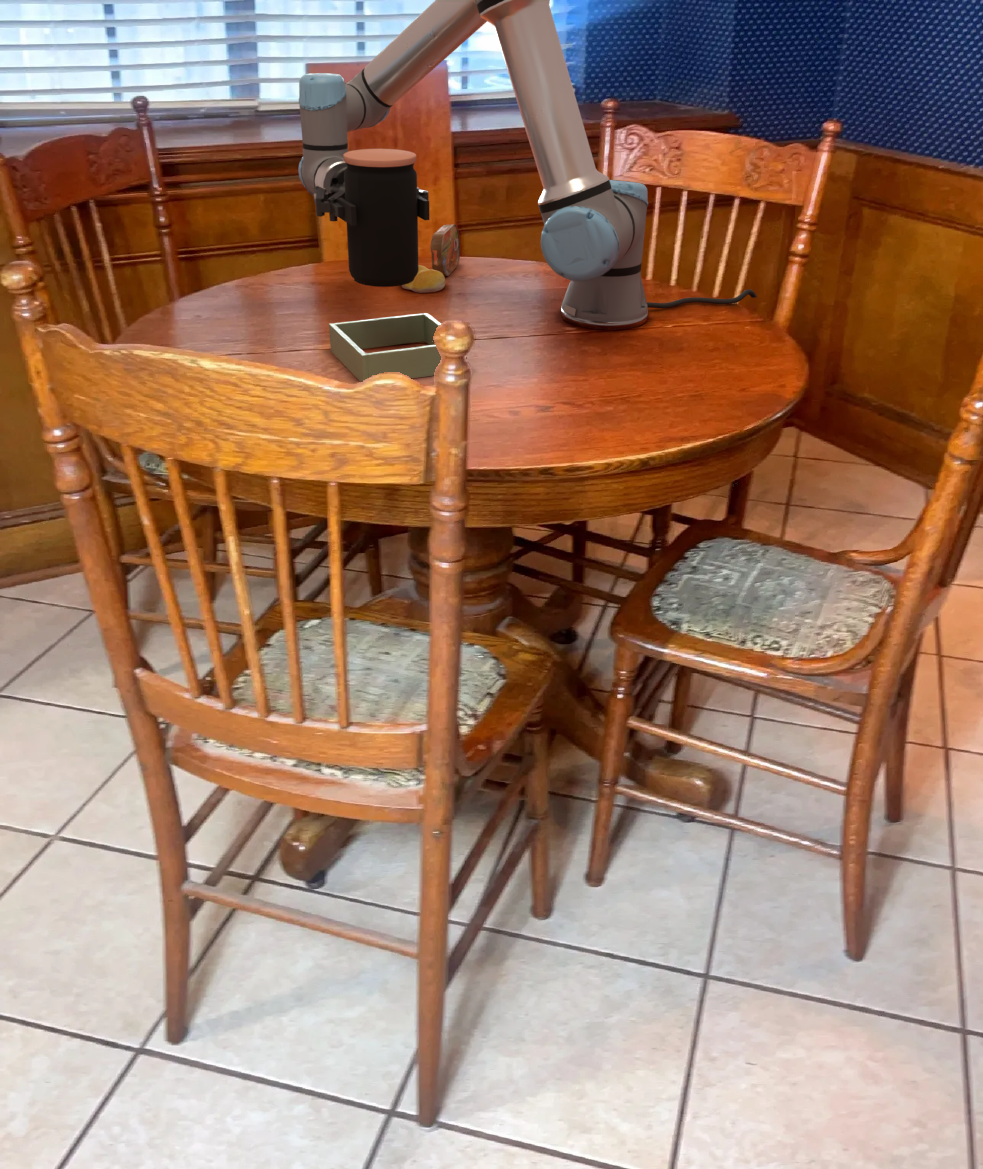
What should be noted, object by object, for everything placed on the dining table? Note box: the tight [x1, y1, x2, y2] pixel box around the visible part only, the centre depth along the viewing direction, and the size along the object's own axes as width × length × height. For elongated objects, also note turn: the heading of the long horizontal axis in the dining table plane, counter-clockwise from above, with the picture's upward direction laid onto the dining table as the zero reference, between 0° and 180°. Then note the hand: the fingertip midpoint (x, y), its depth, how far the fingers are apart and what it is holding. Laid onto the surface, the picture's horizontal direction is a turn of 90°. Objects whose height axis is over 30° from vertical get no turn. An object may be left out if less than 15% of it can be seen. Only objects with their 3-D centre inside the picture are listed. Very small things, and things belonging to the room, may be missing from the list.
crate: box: [328, 312, 468, 383], centre depth 161 cm, size 17×17×4 cm
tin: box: [430, 223, 461, 277], centre depth 208 cm, size 15×3×8 cm, turn 168°
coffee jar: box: [343, 148, 419, 288], centre depth 156 cm, size 11×11×18 cm
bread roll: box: [400, 264, 446, 294], centre depth 198 cm, size 8×9×4 cm
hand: (391, 213), depth 152 cm, fingers closed on coffee jar, 11 cm apart
